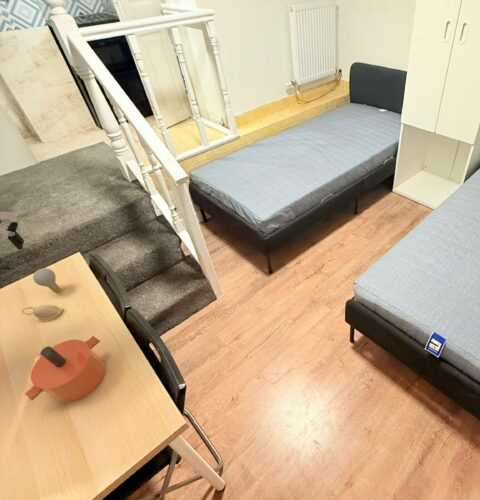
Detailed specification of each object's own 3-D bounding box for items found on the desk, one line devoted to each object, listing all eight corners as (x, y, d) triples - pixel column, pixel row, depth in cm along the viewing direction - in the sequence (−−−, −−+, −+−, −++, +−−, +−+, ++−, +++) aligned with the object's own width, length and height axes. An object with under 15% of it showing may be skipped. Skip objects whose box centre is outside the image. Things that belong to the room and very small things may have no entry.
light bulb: (45, 293, 111) (25, 273, 104) (62, 282, 114) (43, 262, 107) (53, 300, 109) (33, 280, 101) (70, 289, 112) (52, 269, 105)
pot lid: (22, 374, 82) (2, 360, 77) (73, 333, 90) (57, 318, 85) (52, 401, 77) (32, 388, 72) (102, 355, 85) (87, 341, 80)
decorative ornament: (59, 319, 103) (48, 309, 99) (30, 323, 102) (19, 313, 99) (64, 308, 106) (54, 298, 102) (36, 312, 105) (25, 302, 101)
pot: (34, 396, 86) (11, 382, 80) (96, 342, 97) (80, 326, 91) (61, 421, 82) (39, 408, 76) (123, 362, 92) (108, 346, 86)
